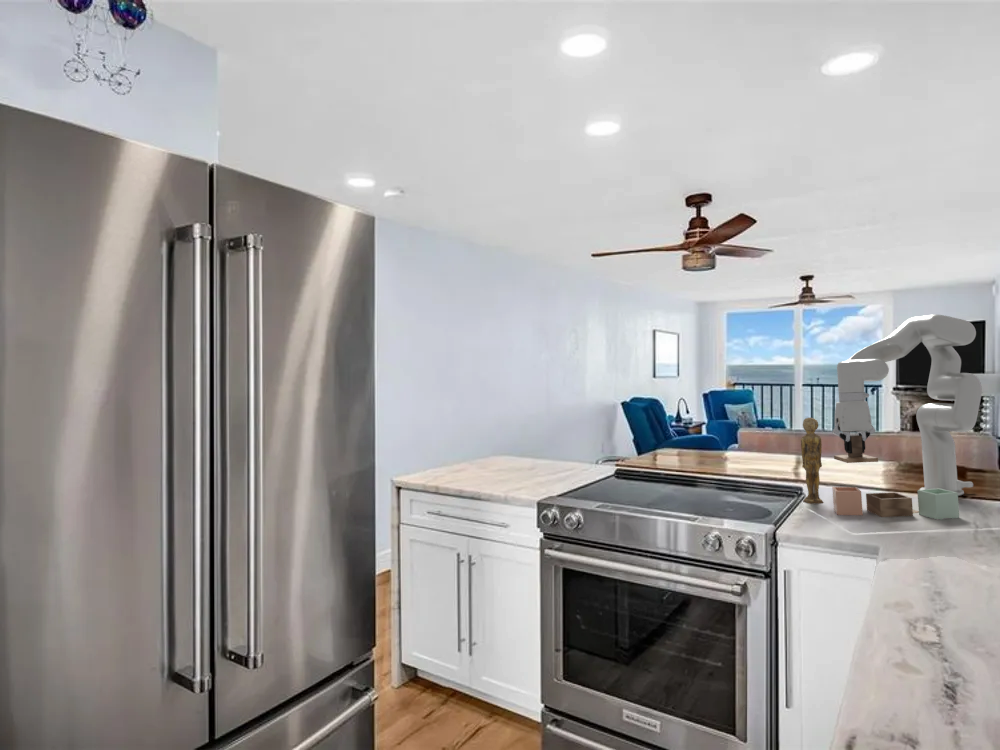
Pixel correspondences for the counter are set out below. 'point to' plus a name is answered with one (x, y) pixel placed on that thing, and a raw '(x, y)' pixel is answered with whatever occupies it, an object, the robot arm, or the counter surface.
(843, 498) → the canister terracotta
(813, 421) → the sculpture
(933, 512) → the box
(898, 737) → the counter surface
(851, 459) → the lid
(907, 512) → the box
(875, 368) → the robot arm
